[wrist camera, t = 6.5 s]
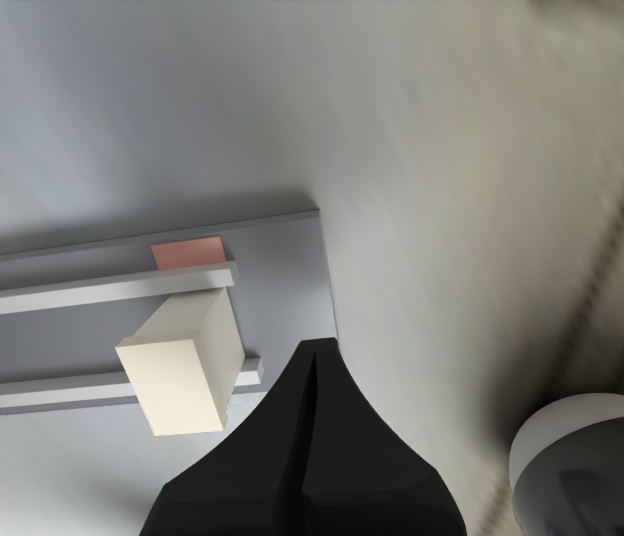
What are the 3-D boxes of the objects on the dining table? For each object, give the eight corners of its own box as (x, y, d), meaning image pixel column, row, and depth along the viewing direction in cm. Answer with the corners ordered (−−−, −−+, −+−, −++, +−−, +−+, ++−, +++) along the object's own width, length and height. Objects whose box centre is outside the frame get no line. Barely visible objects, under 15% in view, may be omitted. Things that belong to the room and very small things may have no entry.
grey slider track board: (342, 365, 19) (344, 398, 17) (-35, 401, 21) (-78, 434, 19) (319, 209, 16) (318, 223, 13) (-125, 272, 18) (-192, 293, 16)
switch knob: (248, 357, 17) (223, 430, 13) (195, 363, 17) (154, 436, 13) (228, 283, 15) (192, 339, 11) (170, 290, 16) (114, 347, 12)
